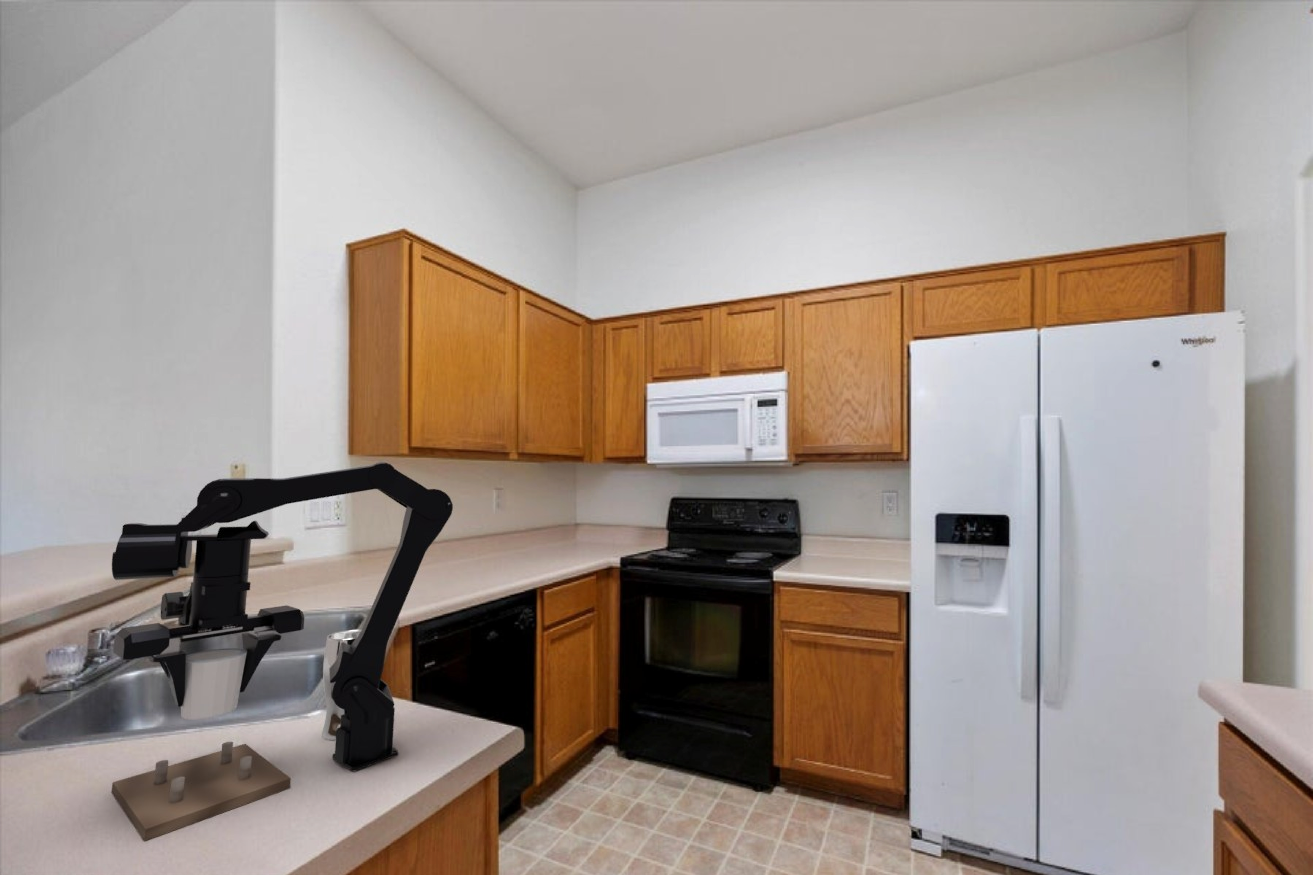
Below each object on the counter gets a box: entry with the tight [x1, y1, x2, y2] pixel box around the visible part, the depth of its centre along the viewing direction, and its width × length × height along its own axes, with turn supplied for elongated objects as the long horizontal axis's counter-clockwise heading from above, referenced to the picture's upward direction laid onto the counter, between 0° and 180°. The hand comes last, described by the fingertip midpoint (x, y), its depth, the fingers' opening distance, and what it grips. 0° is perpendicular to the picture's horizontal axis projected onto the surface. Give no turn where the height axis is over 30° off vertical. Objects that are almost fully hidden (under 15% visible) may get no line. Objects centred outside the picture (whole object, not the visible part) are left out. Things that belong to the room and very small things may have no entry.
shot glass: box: [180, 647, 247, 721], centre depth 72 cm, size 7×7×7 cm
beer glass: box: [321, 629, 362, 741], centre depth 89 cm, size 7×7×15 cm
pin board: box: [111, 741, 292, 842], centre depth 71 cm, size 14×16×4 cm
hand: (211, 698), depth 72 cm, fingers closed on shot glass, 6 cm apart
